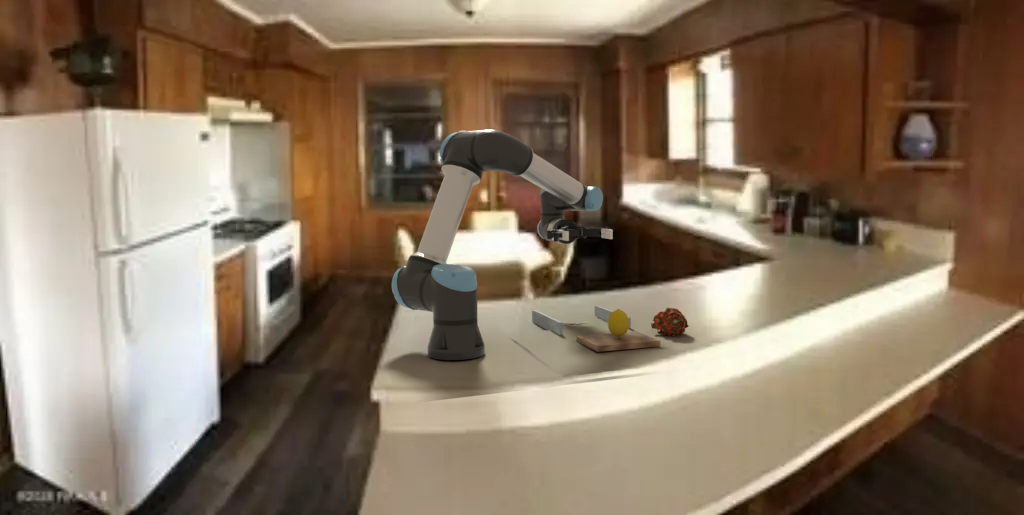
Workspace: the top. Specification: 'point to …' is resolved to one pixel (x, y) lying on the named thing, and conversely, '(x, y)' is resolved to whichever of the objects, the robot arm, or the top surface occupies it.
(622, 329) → the lemon
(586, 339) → the board
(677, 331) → the dragon fruit
